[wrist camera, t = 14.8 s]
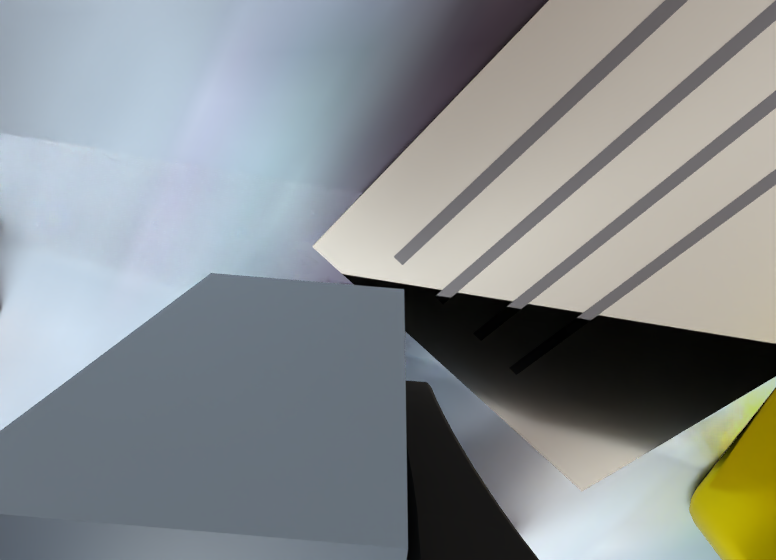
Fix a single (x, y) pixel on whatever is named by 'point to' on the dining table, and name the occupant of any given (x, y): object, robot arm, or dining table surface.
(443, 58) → the dining table surface
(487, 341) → the letter
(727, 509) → the element tile
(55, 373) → the dining table surface
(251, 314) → the cube
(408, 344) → the dining table surface
